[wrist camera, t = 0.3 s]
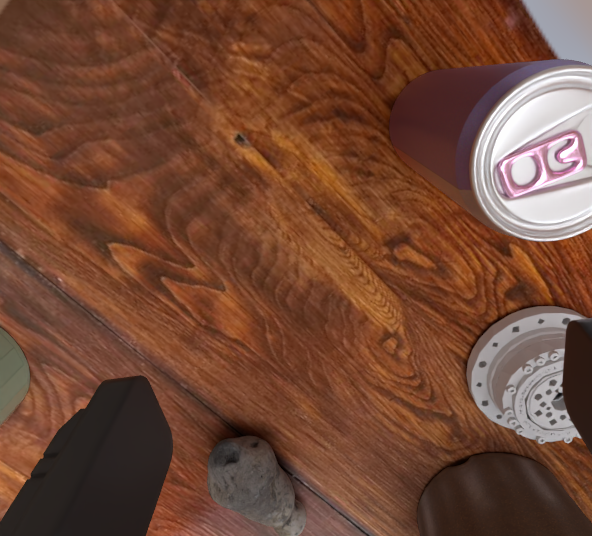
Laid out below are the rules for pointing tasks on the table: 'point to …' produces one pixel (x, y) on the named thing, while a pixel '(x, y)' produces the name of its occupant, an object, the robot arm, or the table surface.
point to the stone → (254, 484)
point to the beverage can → (504, 143)
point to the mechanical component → (524, 373)
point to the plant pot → (499, 501)
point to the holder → (11, 376)
